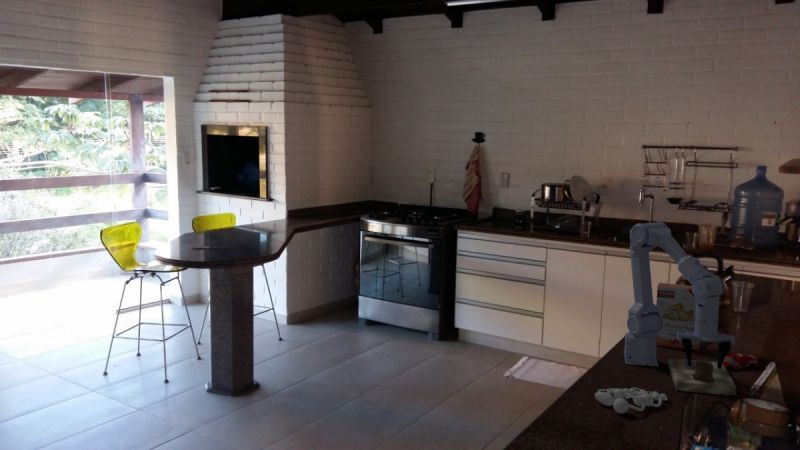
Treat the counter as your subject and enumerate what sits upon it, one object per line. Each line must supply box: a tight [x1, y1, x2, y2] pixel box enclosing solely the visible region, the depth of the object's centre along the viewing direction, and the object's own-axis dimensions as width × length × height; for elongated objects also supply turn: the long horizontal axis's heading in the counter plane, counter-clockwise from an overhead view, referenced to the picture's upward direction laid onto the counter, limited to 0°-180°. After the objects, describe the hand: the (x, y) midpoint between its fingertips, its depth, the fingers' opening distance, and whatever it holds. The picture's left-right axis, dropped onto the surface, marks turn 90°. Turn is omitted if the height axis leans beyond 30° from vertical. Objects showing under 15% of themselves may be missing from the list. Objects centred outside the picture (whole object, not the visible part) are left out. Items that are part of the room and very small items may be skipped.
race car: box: [715, 352, 760, 372], centre depth 194 cm, size 13×5×4 cm, turn 100°
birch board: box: [667, 357, 738, 397], centre depth 184 cm, size 15×20×3 cm
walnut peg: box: [694, 359, 713, 382], centre depth 179 cm, size 4×4×7 cm
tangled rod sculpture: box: [594, 386, 668, 414], centre depth 169 cm, size 19×14×4 cm
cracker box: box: [655, 282, 701, 352], centre depth 213 cm, size 14×6×21 cm, turn 62°
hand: (704, 366), depth 178 cm, fingers open, 7 cm apart
